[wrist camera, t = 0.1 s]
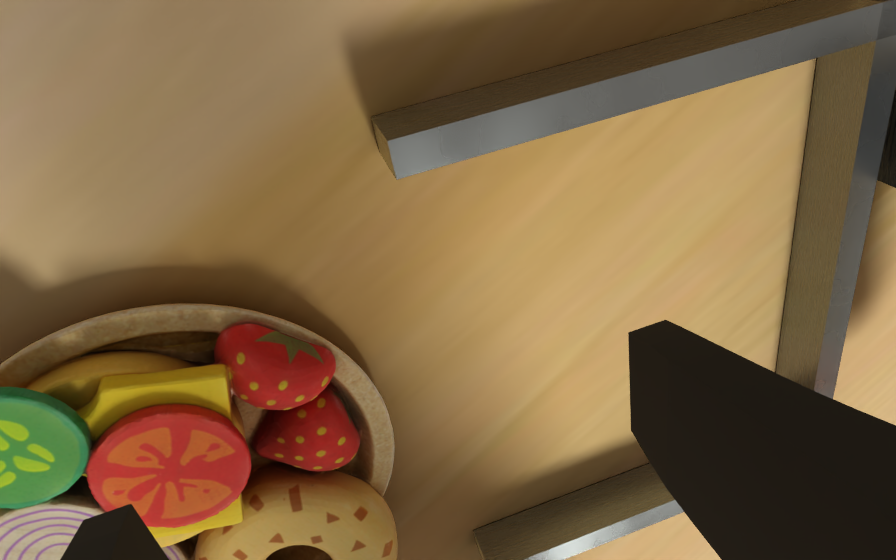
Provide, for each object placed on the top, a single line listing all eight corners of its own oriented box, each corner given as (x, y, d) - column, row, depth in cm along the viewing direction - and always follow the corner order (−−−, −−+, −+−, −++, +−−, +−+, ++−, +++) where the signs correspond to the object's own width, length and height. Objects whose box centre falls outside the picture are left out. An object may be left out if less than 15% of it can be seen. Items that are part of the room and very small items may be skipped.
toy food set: (385, 557, 26) (404, 632, 24) (8, 639, 23) (-20, 739, 20) (388, 263, 20) (415, 321, 17) (-142, 311, 16) (-212, 395, 14)
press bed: (857, 398, 30) (952, 473, 26) (477, 545, 27) (520, 653, 23) (959, -44, 20) (1137, -28, 16) (370, 116, 17) (416, 183, 13)
